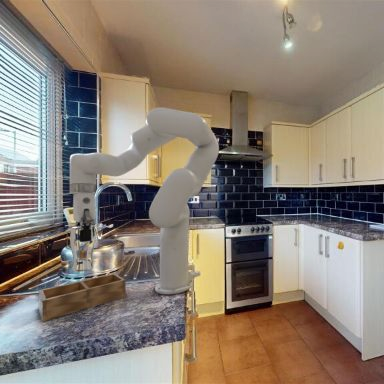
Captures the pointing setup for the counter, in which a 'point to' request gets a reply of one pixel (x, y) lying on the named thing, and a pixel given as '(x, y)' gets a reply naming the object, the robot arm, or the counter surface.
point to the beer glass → (81, 250)
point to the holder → (80, 295)
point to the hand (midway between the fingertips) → (83, 239)
